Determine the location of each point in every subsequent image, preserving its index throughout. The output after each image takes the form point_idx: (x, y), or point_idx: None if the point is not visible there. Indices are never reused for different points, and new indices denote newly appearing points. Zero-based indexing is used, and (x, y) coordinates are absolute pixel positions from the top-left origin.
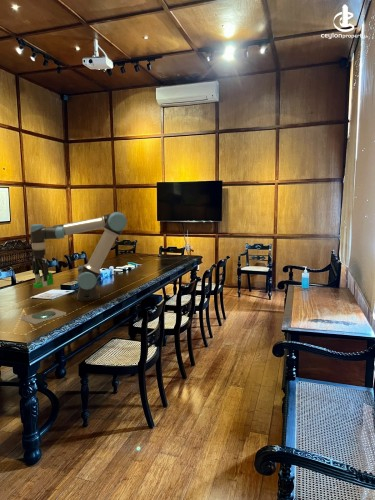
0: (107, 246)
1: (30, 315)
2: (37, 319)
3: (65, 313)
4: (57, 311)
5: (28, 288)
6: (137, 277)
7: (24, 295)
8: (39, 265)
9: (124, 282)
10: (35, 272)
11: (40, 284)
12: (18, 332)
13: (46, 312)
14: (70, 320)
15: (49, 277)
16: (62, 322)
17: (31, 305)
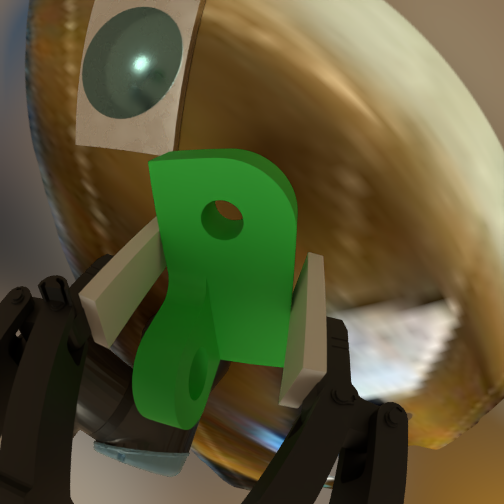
0: None
1: (183, 15)
2: (106, 12)
3: (78, 141)
4: (110, 133)
5: (492, 369)
6: (233, 454)
7: (489, 316)
8: (12, 491)
9: (229, 439)
10: (309, 418)
11: (160, 203)
12: None
13: (138, 88)
14: (35, 107)
15: (193, 376)
16: (40, 77)
17: (380, 193)
